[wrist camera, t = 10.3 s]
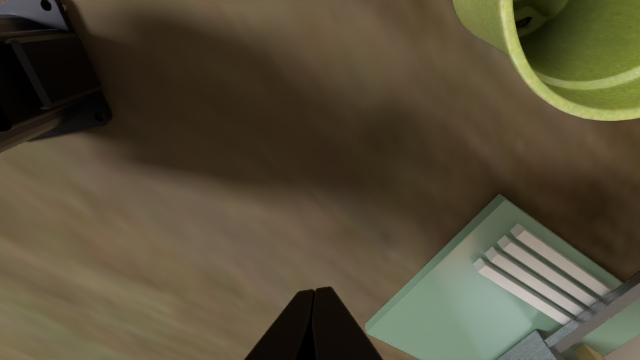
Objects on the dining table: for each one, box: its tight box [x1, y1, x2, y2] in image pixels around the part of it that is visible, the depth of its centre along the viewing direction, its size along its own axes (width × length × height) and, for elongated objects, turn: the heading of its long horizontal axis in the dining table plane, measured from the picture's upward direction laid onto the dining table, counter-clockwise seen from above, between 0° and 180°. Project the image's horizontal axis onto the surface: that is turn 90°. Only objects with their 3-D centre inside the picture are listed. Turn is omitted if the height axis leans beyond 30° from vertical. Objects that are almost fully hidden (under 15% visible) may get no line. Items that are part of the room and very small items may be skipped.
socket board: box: [365, 194, 640, 360], centre depth 25 cm, size 18×14×4 cm
